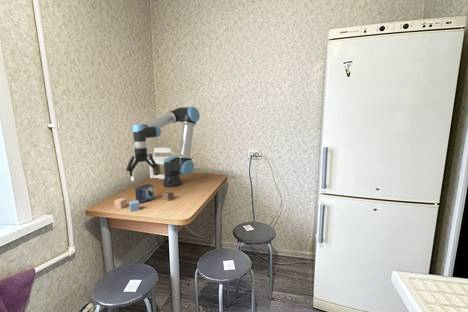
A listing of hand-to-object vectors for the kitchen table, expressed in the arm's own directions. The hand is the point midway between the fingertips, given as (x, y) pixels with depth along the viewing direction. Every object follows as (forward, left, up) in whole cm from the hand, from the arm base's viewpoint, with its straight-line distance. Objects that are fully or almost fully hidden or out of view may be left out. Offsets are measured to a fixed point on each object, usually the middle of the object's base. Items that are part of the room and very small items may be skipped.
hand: (143, 178), depth 165 cm
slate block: (+12, +10, -16) cm, 22 cm away
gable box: (-43, -48, -16) cm, 67 cm away
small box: (0, 0, -16) cm, 16 cm away
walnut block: (-12, +10, -16) cm, 22 cm away
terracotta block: (+16, -1, -16) cm, 22 cm away
